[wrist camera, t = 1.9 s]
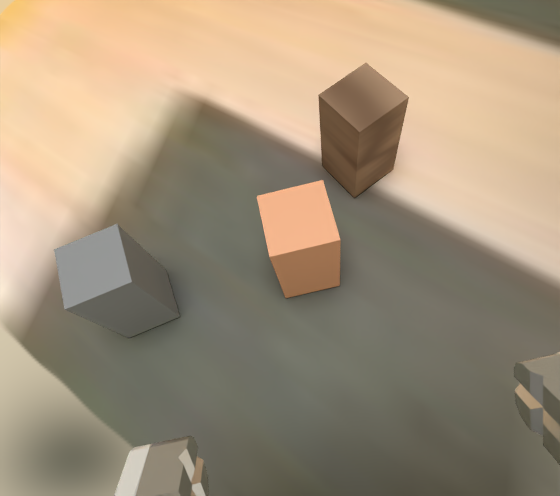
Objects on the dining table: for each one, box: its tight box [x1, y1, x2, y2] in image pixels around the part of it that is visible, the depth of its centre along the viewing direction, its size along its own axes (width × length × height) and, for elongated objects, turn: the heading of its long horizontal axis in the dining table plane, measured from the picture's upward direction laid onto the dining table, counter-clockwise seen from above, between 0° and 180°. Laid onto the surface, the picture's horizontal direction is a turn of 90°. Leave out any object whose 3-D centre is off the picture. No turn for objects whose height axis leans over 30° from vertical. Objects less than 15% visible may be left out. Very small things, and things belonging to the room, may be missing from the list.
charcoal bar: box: [54, 224, 180, 338], centre depth 32 cm, size 4×4×9 cm
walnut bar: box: [319, 63, 409, 198], centre depth 34 cm, size 4×4×9 cm
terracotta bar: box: [257, 180, 340, 298], centre depth 31 cm, size 4×4×9 cm
